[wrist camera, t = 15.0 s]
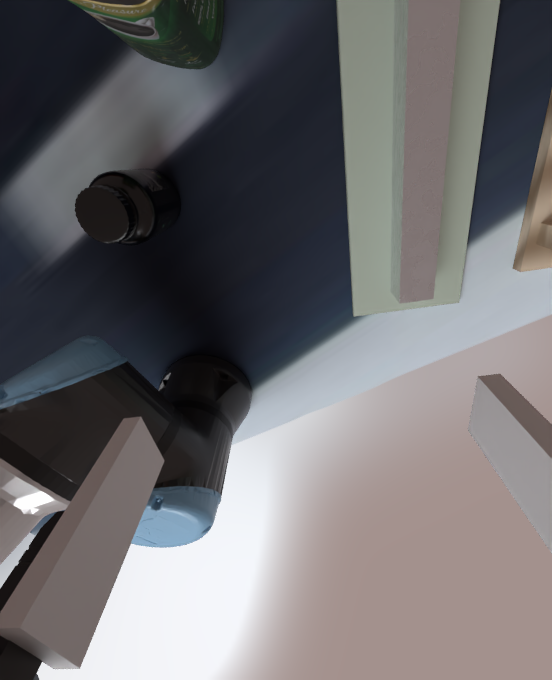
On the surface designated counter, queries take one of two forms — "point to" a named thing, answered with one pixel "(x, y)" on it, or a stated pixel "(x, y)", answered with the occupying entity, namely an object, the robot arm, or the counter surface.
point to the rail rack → (538, 209)
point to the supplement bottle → (128, 206)
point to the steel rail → (420, 139)
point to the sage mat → (377, 137)
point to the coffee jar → (164, 28)
